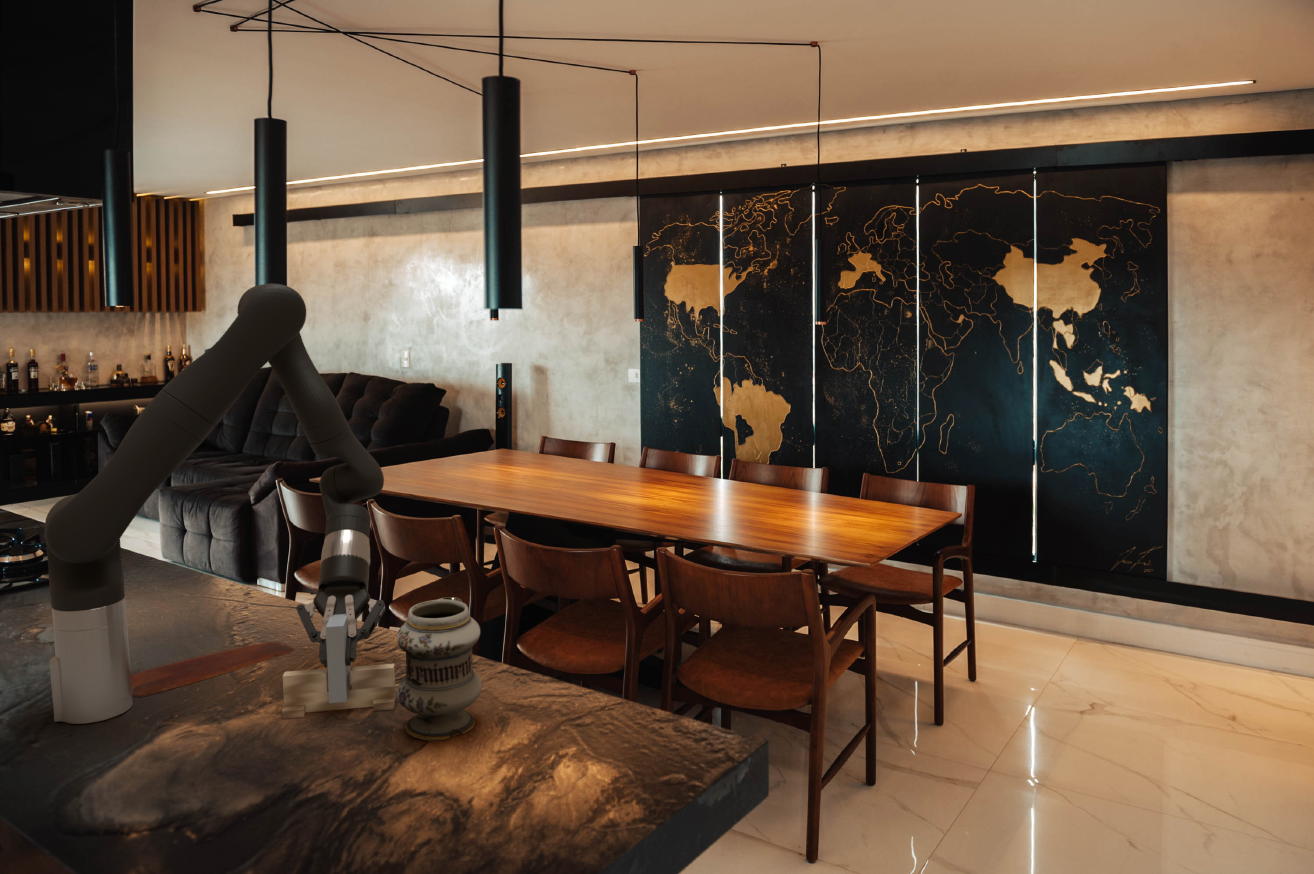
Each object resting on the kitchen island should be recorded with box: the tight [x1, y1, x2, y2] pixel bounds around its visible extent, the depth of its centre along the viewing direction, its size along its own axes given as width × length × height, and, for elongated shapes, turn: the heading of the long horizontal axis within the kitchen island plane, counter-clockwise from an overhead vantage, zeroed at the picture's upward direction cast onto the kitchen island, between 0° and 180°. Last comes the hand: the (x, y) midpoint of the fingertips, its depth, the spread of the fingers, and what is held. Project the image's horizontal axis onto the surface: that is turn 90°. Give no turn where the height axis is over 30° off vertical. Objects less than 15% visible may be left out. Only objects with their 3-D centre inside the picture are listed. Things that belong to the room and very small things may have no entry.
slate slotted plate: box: [326, 614, 352, 703], centre depth 130 cm, size 2×5×12 cm, turn 12°
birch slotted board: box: [281, 663, 397, 720], centre depth 131 cm, size 16×5×6 cm, turn 102°
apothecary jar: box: [396, 599, 483, 742], centre depth 124 cm, size 12×12×18 cm
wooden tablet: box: [131, 641, 295, 698], centre depth 147 cm, size 27×10×2 cm, turn 140°
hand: (337, 664), depth 128 cm, fingers closed on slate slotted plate, 2 cm apart
